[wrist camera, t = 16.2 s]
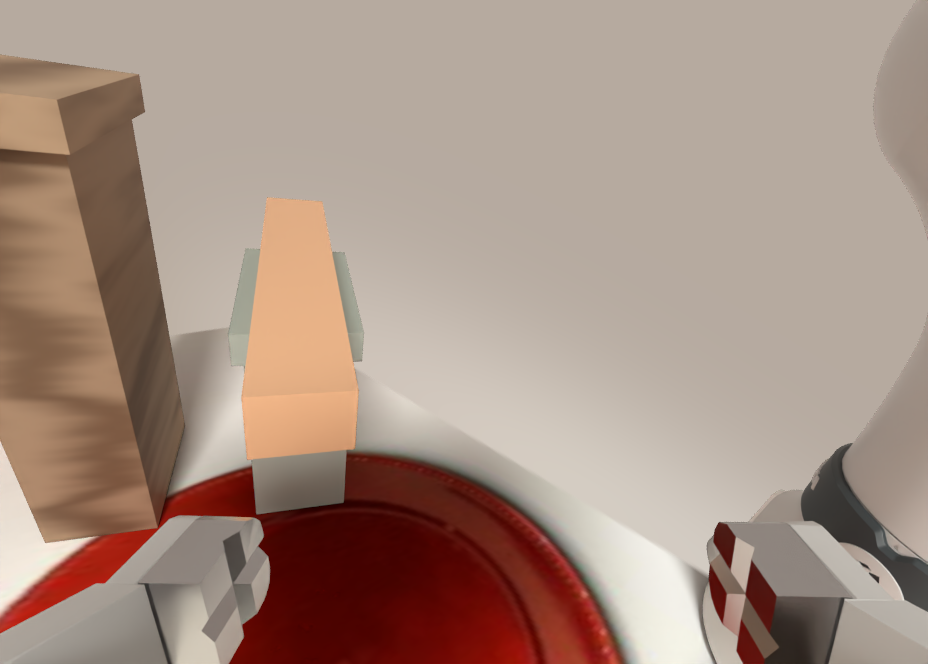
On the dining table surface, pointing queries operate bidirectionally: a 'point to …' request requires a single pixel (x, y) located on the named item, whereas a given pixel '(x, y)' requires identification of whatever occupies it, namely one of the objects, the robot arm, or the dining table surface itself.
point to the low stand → (304, 474)
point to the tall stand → (81, 305)
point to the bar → (298, 341)
